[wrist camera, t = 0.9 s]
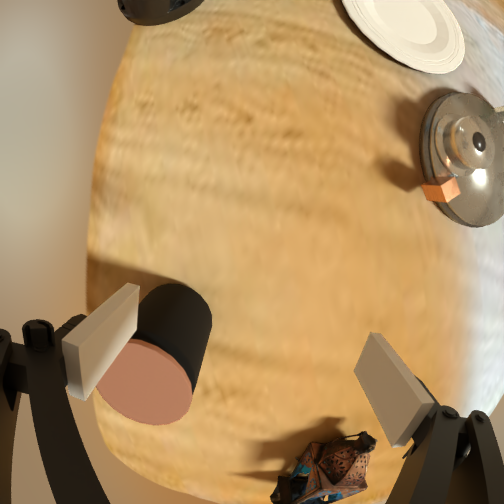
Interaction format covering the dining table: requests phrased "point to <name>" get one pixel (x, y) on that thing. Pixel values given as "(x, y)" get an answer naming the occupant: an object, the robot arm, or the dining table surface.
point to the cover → (463, 144)
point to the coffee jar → (160, 357)
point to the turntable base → (424, 153)
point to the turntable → (478, 183)
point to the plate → (411, 31)
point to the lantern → (327, 472)
